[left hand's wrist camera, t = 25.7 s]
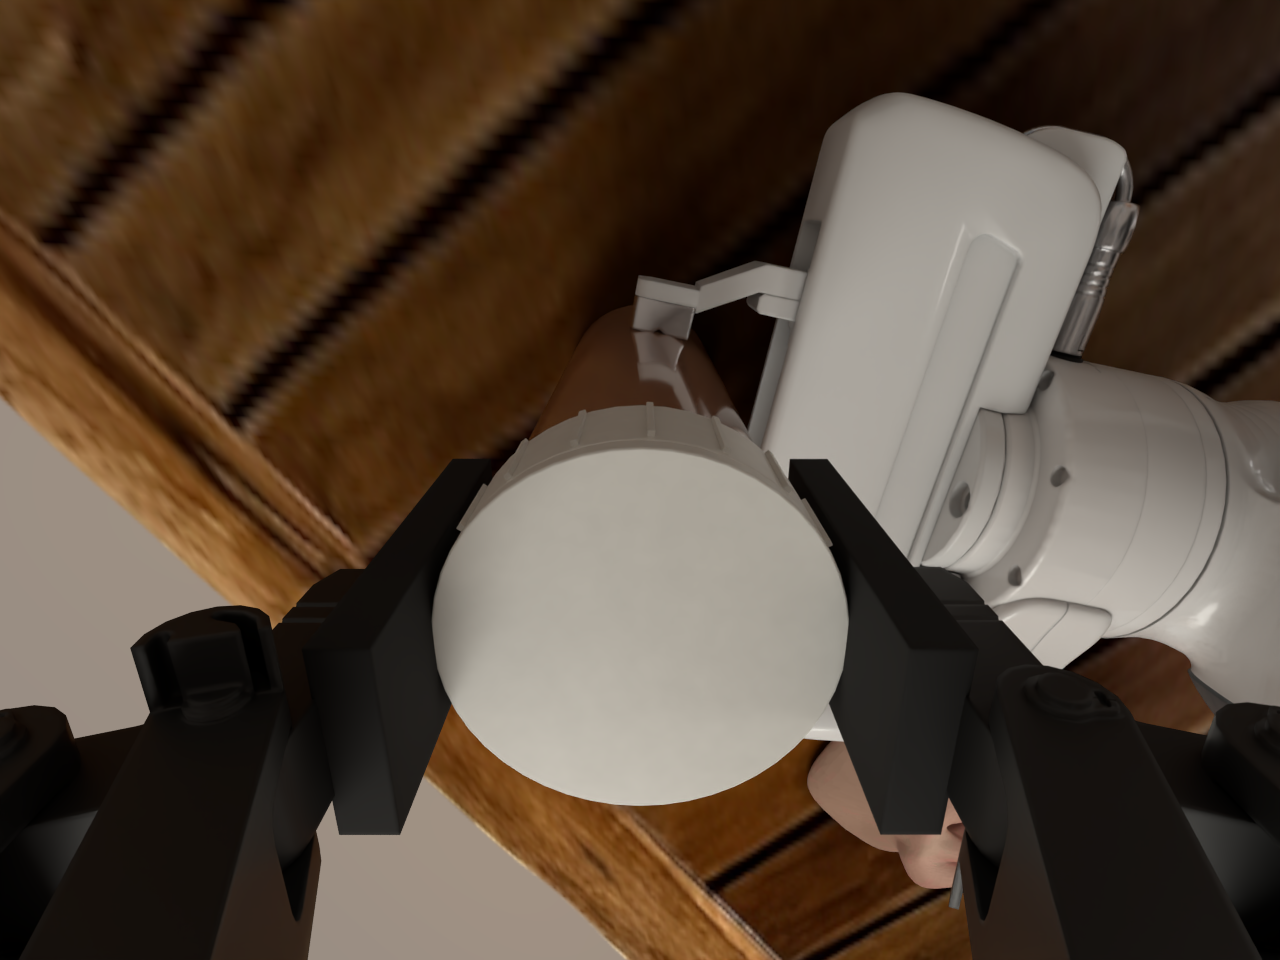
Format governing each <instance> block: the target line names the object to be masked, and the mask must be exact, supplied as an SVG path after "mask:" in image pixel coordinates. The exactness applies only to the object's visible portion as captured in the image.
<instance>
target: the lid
mask: <svg viewBox="0 0 1280 960" xmlns="http://www.w3.org/2000/svg"><path fill="white" fill-rule="evenodd" d="M456 529H458V530H459V531H461V533H460V535H459V536H458V538H457V540H456V541H455V543H454V545H453V547H452V548H451V550H450V552H449V555H448V557H447V559H446V561H445V563H444V566H443V568H442V570H441V572H440V576H439V580H438V583H437V587H436V590H435V594H434V600H433V609H432V630H433V639H434V647H435V655H436V662H437V669H438V672H439V675H440V678H441V680H442V683H443V686H444V689H445V691H446V693H447V695H448V697H449V699H450V701H451V702H452V704H453V706H454V708H455V710H456V711H457V713H458V714H459V716H460V717H461V719H462V720H463V721H464V723H465V724H466V726H467V727H468V728H469V730H470V731H471V732H472V733H473V734H474V735H475V736H476V737H477V738H478V739H479V740H480V742H481V743H482V744H483V745H484V746H485V747H486V748H488V749H489V750H490V751H491V752H492V753H493V754H495V755H496V756H497V757H498V758H499V759H501V760H502V761H503V762H504V763H506V764H507V765H509V766H510V767H512V768H514V769H515V770H517V771H518V772H520V773H521V774H523V775H524V776H526V777H528V778H530V779H532V780H534V781H536V782H538V783H540V784H542V785H544V786H547V787H549V788H552V789H554V790H557V791H560V792H562V793H565V794H568V795H572V796H575V797H579V798H583V799H587V800H591V801H597V802H603V803H610V804H619V805H637V806H642V805H664V804H670V803H677V802H684V801H690V800H693V799H697V798H701V797H705V796H709V795H713V794H715V793H718V792H721V791H723V790H726V789H729V788H731V787H734V786H736V785H738V784H740V783H742V782H744V781H746V780H748V779H750V778H752V777H754V776H756V775H758V774H759V773H761V772H762V771H764V770H765V769H767V768H769V767H770V766H772V765H773V764H775V763H776V762H777V761H779V760H780V759H781V758H782V757H783V756H785V755H786V754H787V753H788V752H790V751H791V750H792V749H793V748H794V747H795V746H796V745H797V744H798V743H799V742H800V741H801V740H802V739H803V738H804V737H805V736H806V735H807V734H808V733H809V731H810V730H811V729H812V728H813V726H814V725H815V724H816V722H817V721H818V719H819V718H820V717H821V715H822V714H823V712H824V711H825V709H826V707H827V705H828V704H829V702H830V700H831V698H832V696H833V694H834V692H835V690H836V687H837V685H838V682H839V679H840V677H841V674H842V671H843V665H844V658H845V650H846V642H847V633H848V625H849V613H848V603H847V596H846V592H845V588H844V584H843V581H842V577H841V574H840V571H839V569H838V567H837V564H836V562H835V560H834V557H833V555H832V553H831V551H830V549H829V547H830V546H832V542H831V540H830V538H829V537H828V535H827V533H826V532H825V530H824V529H823V527H822V525H821V524H820V522H819V520H818V519H817V517H816V515H815V514H814V512H813V510H812V509H811V507H810V505H809V504H808V502H807V500H806V499H805V498H804V499H802V500H801V499H800V498H799V496H798V494H797V493H796V491H795V489H794V488H793V486H792V485H791V483H790V481H789V480H788V478H787V477H786V475H785V474H784V472H783V471H782V469H781V467H780V465H779V464H778V462H777V460H776V458H775V457H774V455H773V453H772V452H771V451H769V450H767V451H766V452H764V451H762V450H761V449H760V448H759V447H758V446H757V445H756V444H755V443H753V442H752V441H750V440H749V439H747V438H746V437H744V436H743V435H741V434H740V433H738V432H737V431H735V430H734V429H732V428H729V427H727V426H725V425H723V424H721V422H720V420H719V418H718V417H716V416H712V418H711V419H710V418H707V417H704V416H701V415H698V414H695V413H693V412H689V411H684V410H679V409H674V408H669V407H660V406H653V402H646V405H636V406H619V407H612V408H607V409H601V410H596V411H591V412H588V413H587V412H586V410H582V411H579V414H578V416H576V417H573V418H570V419H568V420H565V421H563V422H561V423H559V424H557V425H555V426H553V427H551V428H549V429H547V430H545V431H544V432H542V433H541V434H539V435H538V436H536V437H535V438H533V439H532V440H530V441H528V440H527V439H524V440H523V441H522V442H521V443H520V445H519V447H518V449H517V451H516V453H515V454H513V455H512V456H511V457H510V458H509V459H508V461H507V462H506V463H505V464H504V465H503V466H502V467H501V469H500V470H499V471H498V472H497V473H496V474H495V476H494V478H493V479H492V481H491V482H490V484H489V485H488V486H487V485H485V484H483V485H482V487H481V488H480V490H479V492H478V493H477V495H476V497H475V498H474V500H473V502H472V503H471V505H470V507H469V508H468V510H467V511H466V513H465V515H464V516H463V518H462V520H461V521H460V523H459V525H458V526H457V528H456Z"/></svg>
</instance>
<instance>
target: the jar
mask: <svg viewBox="0 0 1280 960" xmlns="http://www.w3.org/2000/svg"><path fill="white" fill-rule="evenodd" d="M632 308H633V305H631V306H625V307H621V308H618V309H615V310H613V311H611V312H608V313H607V314H605V315H603V316H602V317H600V318H599V319H598V320H597V321H595V322H594V323H593V324H592V325H591V326H590V327H589V328H588V329H587V331H586V332H585V333H584V335H583V336H582V338H581V340H580V342H579V343H578V345H577V347H576V349H575V351H574V353H573V355H572V357H571V359H570V361H569V363H568V365H567V367H566V369H565V370H564V372H563V374H562V376H561V378H560V380H559V382H558V384H557V386H556V388H555V390H554V392H553V394H552V396H551V398H550V400H549V401H548V403H547V405H546V407H545V409H544V411H543V413H542V415H541V417H540V419H539V421H538V423H537V425H536V427H535V429H534V430H533V432H532V434H531V436H530V438H529V440H528V441H530V440H532V439H533V438H535V437H536V436H538V435H539V434H541V433H542V432H544V431H545V430H547V429H549V428H551V427H553V426H555V425H557V424H559V423H561V422H563V421H565V420H568V419H570V418H573V417H576V416H578V414H579V411H582V410H586V412H587V413H588V412H591V411H596V410H601V409H607V408H612V407H619V406H636V405H646V402H653V406H660V407H669V408H674V409H679V410H684V411H689V412H693V413H695V414H698V415H701V416H704V417H707V418H710V419H711V418H712V416H716V417H718V418H719V420H720V422H721V424H723V425H725V426H727V427H729V428H732V429H734V430H735V431H737V432H738V433H740V434H741V435H743V436H744V437H746V438H747V439H749V440H750V441H752V439H751V437H750V435H749V433H748V431H747V429H746V427H745V425H744V423H743V421H742V420H741V418H740V416H739V414H738V412H737V410H736V408H735V406H734V404H733V402H732V400H731V398H730V396H729V394H728V392H727V391H726V389H725V387H724V385H723V383H722V381H721V379H720V377H719V375H718V373H717V371H716V369H715V367H714V365H713V363H712V362H711V360H710V358H709V356H708V354H707V352H706V350H705V348H704V346H703V344H702V342H701V340H700V339H699V337H698V335H697V334H696V333H695V331H694V330H693V329H692V328H690V332H689V337H688V340H684V339H679V338H674V337H671V336H668V335H665V334H664V333H663V332H662V331H661V330H660V329H659V330H657V331H654V332H648V331H640V330H636V329H633V328H631V327H630V319H631V314H632ZM752 442H753V441H752Z"/></svg>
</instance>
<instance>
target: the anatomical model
mask: <svg viewBox="0 0 1280 960" xmlns="http://www.w3.org/2000/svg"><path fill="white" fill-rule="evenodd" d="M807 784H808V788H809V791H810V793H811V794H812V796H813V798H814V799H815V800H816V801H817V803H818V804H819V805H820V806H821V807H822V808H823V809H824V810H825V811H826V812H827V813H828V814H829V815H830V816H831V817H833V818H834V819H835V820H836V821H837V822H838V823H839V824H840V825H841V826H842V827H844V828H845V829H846V830H848V831H849V832H851V833H852V834H854V835H855V836H857V837H858V838H860V839H861V840H863V841H865V842H866V843H868V844H870V845H871V846H874V847H876V848H878V849H881V850H885V851H891V852H899V854H900V857H901V860H902V862H903V865H904V867H905V870H906V871H907V873H908V875H909V876H910V878H911V879H912V880H913V881H914V882H915V883H917V884H918V885H920V886H922V887H925V888H947V887H952V883H953V879H954V874H955V870H956V865H957V860H958V856H959V851H960V847H961V842H962V838H963V833H964V828H965V827H964V825H963V823H962V821H961V820H960V818H959V816H958V814H957V812H956V810H955V808H954V807H953V805H952V803H951V801H950V799H949V798H948V803H947V808H946V813H945V818H944V823H943V828H942V833H941V835H880V833H879V830H878V827H877V825H876V822H875V820H874V817H873V815H872V812H871V810H870V807H869V805H868V802H867V799H866V797H865V794H864V792H863V789H862V787H861V784H860V782H859V779H858V777H857V774H856V771H855V769H854V766H853V764H852V761H851V759H850V756H849V754H848V751H847V749H846V746H845V744H844V742H842V741H831V742H830V743H829V744H828V745H827V746H826V747H825V749H824V750H823V751H822V752H821V754H820V755H819V756H818V757H817V759H816V760H815V762H814V763H813V765H812V767H811V769H810V771H809V774H808V778H807Z"/></svg>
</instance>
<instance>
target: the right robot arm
mask: <svg viewBox="0 0 1280 960" xmlns="http://www.w3.org/2000/svg"><path fill="white" fill-rule="evenodd" d="M1115 187H1116V193H1115V200H1111V197H1112V195H1113V192H1114V190H1115ZM1132 192H1133V174H1132V169H1131V165H1130V163H1129V160H1128V158H1127V154H1126V151H1125V149H1124V148H1123V147H1122V146H1121V145H1119V144H1118V143H1116V142H1115V141H1113V140H1111V139H1108V138H1106V137H1105V136H1103V135H1099V134H1094V133H1090V132H1086V131H1081V130H1077V129H1073V128H1068V127H1064V126H1060V125H1042V126H1036V127H1033V128H1030V129H1027V130H1025V131H1023V132H1019V131H1016V130H1014V129H1012V128H1009V127H1007V126H1005V125H1002V124H1000V123H997V122H995V121H993V120H990V119H988V118H985V117H982V116H980V115H977V114H974V113H971V112H969V111H966V110H963V109H960V108H957V107H955V106H952V105H948V104H945V103H942V102H939V101H935V100H932V99H929V98H925V97H921V96H917V95H913V94H908V93H902V92H895V93H888V94H883V95H880V96H877V97H874V98H872V99H870V100H868V101H866V102H864V103H862V104H860V105H859V106H857V107H856V108H854V109H852V110H851V111H850V112H848V113H847V114H845V115H844V116H843V117H841V118H840V119H839V120H837V121H836V122H835V123H833V124H832V125H831V126H830V127H829V128H828V130H827V132H826V134H825V136H824V139H823V143H822V146H821V150H820V154H819V157H818V161H817V165H816V169H815V173H814V176H813V180H812V184H811V188H810V192H809V196H808V199H807V203H806V207H805V211H804V215H803V218H802V222H801V226H800V230H799V234H798V238H797V241H796V245H795V249H794V253H793V257H792V260H791V264H790V268H789V267H784V266H779V265H774V264H769V263H764V262H759V261H753V262H750V263H747V264H744V265H741V266H739V267H736V268H733V269H730V270H727V271H724V272H722V273H719V274H716V275H713V276H710V277H708V278H705V279H702V280H699V281H696V283H695V286H694V285H689V284H684V283H680V282H675V281H670V280H665V279H660V278H655V277H650V276H641V275H639V276H638V281H637V287H636V292H635V297H634V303H633V308H632V314H631V319H630V327H631V328H633V329H636V330H640V331H648V332H654V331H657V330H659V329H660V330H661V331H662V332H663V333H664V334H665V335H668V336H671V337H674V338H679V339H684V340H688V337H689V332H690V328H691V324H692V320H693V316H694V312H695V313H699V312H702V311H705V310H708V309H711V308H714V307H717V306H720V305H723V304H726V303H729V302H732V301H735V300H738V299H741V298H744V297H747V300H746V302H747V304H748V306H749V307H751V308H752V309H754V310H755V311H756V312H758V313H759V314H762V315H767V316H771V317H776V321H775V325H774V329H773V333H772V337H771V341H770V344H769V348H768V352H767V356H766V360H765V363H764V367H763V371H762V375H761V379H760V382H759V386H758V390H757V394H756V398H755V402H754V405H753V409H752V413H751V417H750V421H749V424H748V428H747V431H748V433H749V435H750V437H751V439H752V441H753V443H755V444H756V445H757V446H758V447H759V448H760V449H761V450H762V451H764V452H766V451H767V450H769V451H771V452H772V453H773V455H774V457H775V458H776V460H777V462H778V464H779V465H780V467H781V469H782V471H783V472H784V474H785V475H786V477H787V478H788V474H789V461H790V459H828V460H829V461H830V463H831V464H832V465H833V467H834V468H835V469H836V470H837V472H838V473H839V474H840V475H841V477H842V478H843V479H844V480H845V482H846V483H847V484H848V485H849V487H850V488H851V489H852V490H853V492H854V493H855V494H856V495H857V497H858V498H859V499H860V500H861V502H862V503H863V504H864V505H865V507H866V508H867V509H868V510H869V512H870V513H871V514H872V515H873V517H874V518H875V519H876V520H877V522H878V523H879V524H880V526H881V527H882V528H883V529H884V531H885V532H886V533H887V534H888V536H889V537H890V538H891V539H892V541H893V542H894V543H895V544H896V546H897V547H898V548H899V549H900V551H901V552H902V553H903V554H904V556H905V557H906V558H907V559H908V561H909V562H910V563H911V564H912V566H913V567H942V568H943V569H945V570H947V571H949V572H950V573H952V574H954V575H955V576H957V577H959V578H961V579H962V580H964V581H966V582H968V583H969V585H970V586H971V587H972V588H973V589H974V590H975V591H976V592H977V593H978V594H979V596H980V597H981V598H982V599H983V600H984V603H985V605H989V606H990V608H991V609H992V610H993V611H994V612H995V613H996V614H997V615H998V619H999V620H1002V621H1003V622H1004V623H1005V624H1006V625H1007V626H1008V627H1009V628H1010V629H1011V631H1012V632H1013V633H1014V634H1015V635H1016V636H1017V637H1018V638H1019V639H1020V640H1021V642H1022V643H1023V644H1024V645H1025V646H1026V647H1027V648H1028V649H1029V650H1030V651H1031V652H1032V654H1033V655H1034V656H1035V657H1036V658H1037V659H1038V660H1039V661H1040V662H1041V663H1042V665H1044V666H1051V667H1055V668H1059V669H1063V668H1064V667H1065V666H1066V665H1067V664H1069V663H1070V662H1071V661H1073V660H1074V659H1075V658H1077V657H1078V656H1079V655H1080V654H1082V653H1083V652H1084V651H1086V650H1087V649H1088V648H1090V647H1091V646H1092V645H1093V644H1095V643H1096V642H1097V641H1098V640H1099V639H1100V638H1119V637H1142V638H1147V639H1152V640H1156V641H1159V642H1161V643H1164V644H1166V645H1168V646H1170V647H1173V648H1175V649H1177V650H1178V651H1180V652H1182V653H1184V654H1185V655H1186V656H1187V657H1188V658H1189V660H1190V661H1191V665H1192V666H1191V668H1190V669H1188V673H1189V675H1190V677H1191V679H1192V681H1193V683H1194V685H1195V687H1196V688H1197V690H1198V692H1199V693H1200V695H1201V696H1202V698H1203V699H1204V701H1205V702H1206V704H1207V705H1208V707H1209V708H1210V709H1211V711H1212V712H1213V713H1214V715H1215V713H1216V711H1218V710H1219V709H1221V708H1222V707H1224V706H1225V705H1226V704H1233V703H1244V702H1250V703H1257V704H1264V705H1271V706H1273V705H1274V706H1279V707H1280V402H1277V401H1267V400H1245V401H1233V402H1218V401H1215V400H1214V399H1212V398H1211V397H1209V396H1208V395H1206V394H1204V393H1202V392H1200V391H1198V390H1196V389H1194V388H1192V387H1190V386H1189V385H1187V384H1184V383H1181V382H1178V381H1174V380H1171V379H1168V378H1164V377H1159V376H1153V375H1148V374H1144V373H1139V372H1134V371H1129V370H1125V369H1120V368H1115V367H1110V366H1105V365H1100V364H1096V363H1091V362H1087V361H1083V359H1081V357H1082V355H1083V352H1084V350H1085V348H1086V345H1087V343H1088V341H1089V338H1090V336H1091V333H1092V331H1093V329H1094V326H1095V324H1096V322H1097V319H1098V317H1099V315H1100V312H1101V309H1102V306H1103V303H1104V300H1105V299H1104V297H1106V293H1107V289H1106V288H1107V287H1108V286H1109V283H1110V280H1109V278H1111V277H1112V274H1113V272H1114V271H1113V269H1114V268H1115V267H1116V265H1117V262H1118V260H1119V258H1120V256H1121V254H1123V253H1124V252H1125V251H1126V249H1127V247H1128V245H1129V243H1130V241H1131V239H1132V237H1133V234H1134V231H1135V229H1136V225H1137V221H1138V217H1139V212H1140V206H1139V205H1137V204H1135V203H1130V202H1131V198H1132ZM804 738H806V739H815V740H827V741H842V742H844V741H843V738H842V736H841V733H840V731H839V728H838V726H837V723H836V721H835V718H834V716H833V713H832V710H831V708H830V705H829V704H828V705H827V707H826V709H825V711H824V712H823V714H822V715H821V717H820V718H819V719H818V721H817V722H816V724H815V725H814V726H813V728H812V729H811V730H810V731H809V733H808V734H807V735H806V736H805V737H804Z"/></svg>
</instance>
